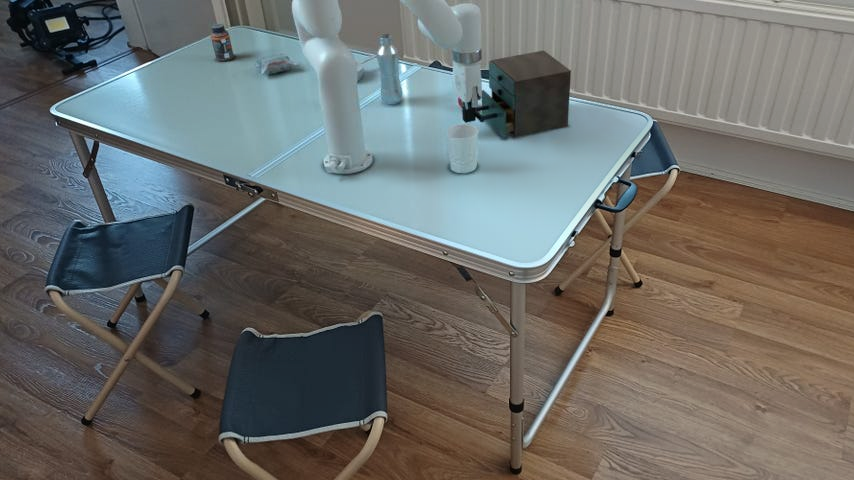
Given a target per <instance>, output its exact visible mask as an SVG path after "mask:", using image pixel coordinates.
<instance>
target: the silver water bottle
mask: <svg viewBox="0 0 854 480" xmlns="http://www.w3.org/2000/svg"><path fill="white" fill-rule="evenodd" d="M379 44H380V45H379V47H378V49H377V51H376V55H377V57H376V60H377V63H378V68H379V73H380V97H381V101H382V102H383V103H385V104H387V105H395V104H398V103H400V102H401V101H402V100H403V94H404V93H403V88H402V86H401V81H400V75H399V62H400V61H399V59H400V58H399V57H400V54H399V50H398V49H397V47H396V45H394V39H393V35H392V34H391V33H382V34H380V35H379Z"/></svg>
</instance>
